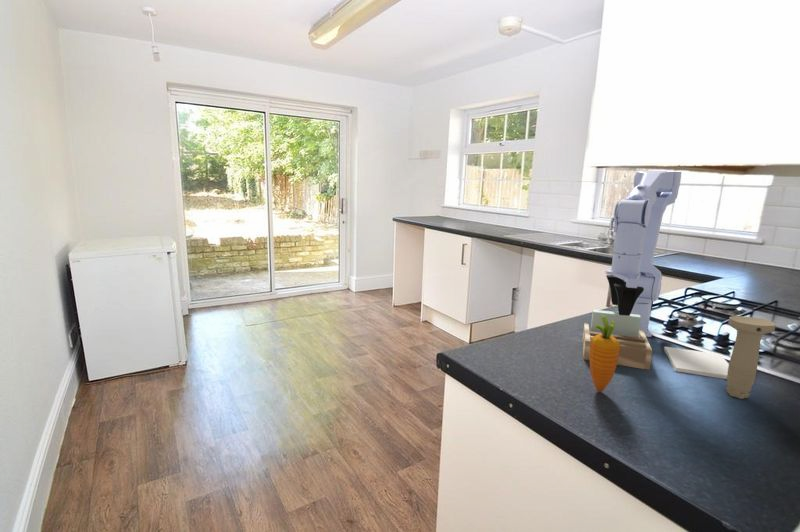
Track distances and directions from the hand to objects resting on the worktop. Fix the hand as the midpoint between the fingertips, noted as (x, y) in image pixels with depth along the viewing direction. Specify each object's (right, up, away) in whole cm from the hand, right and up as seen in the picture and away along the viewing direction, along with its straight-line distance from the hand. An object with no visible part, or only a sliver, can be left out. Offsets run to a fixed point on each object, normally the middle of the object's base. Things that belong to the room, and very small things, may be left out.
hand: (620, 309), depth 92 cm
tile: (+15, -12, -5) cm, 19 cm away
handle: (+12, -15, -18) cm, 26 cm away
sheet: (0, -10, +4) cm, 10 cm away
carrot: (-13, -14, -16) cm, 26 cm away
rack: (-1, -10, +1) cm, 10 cm away
